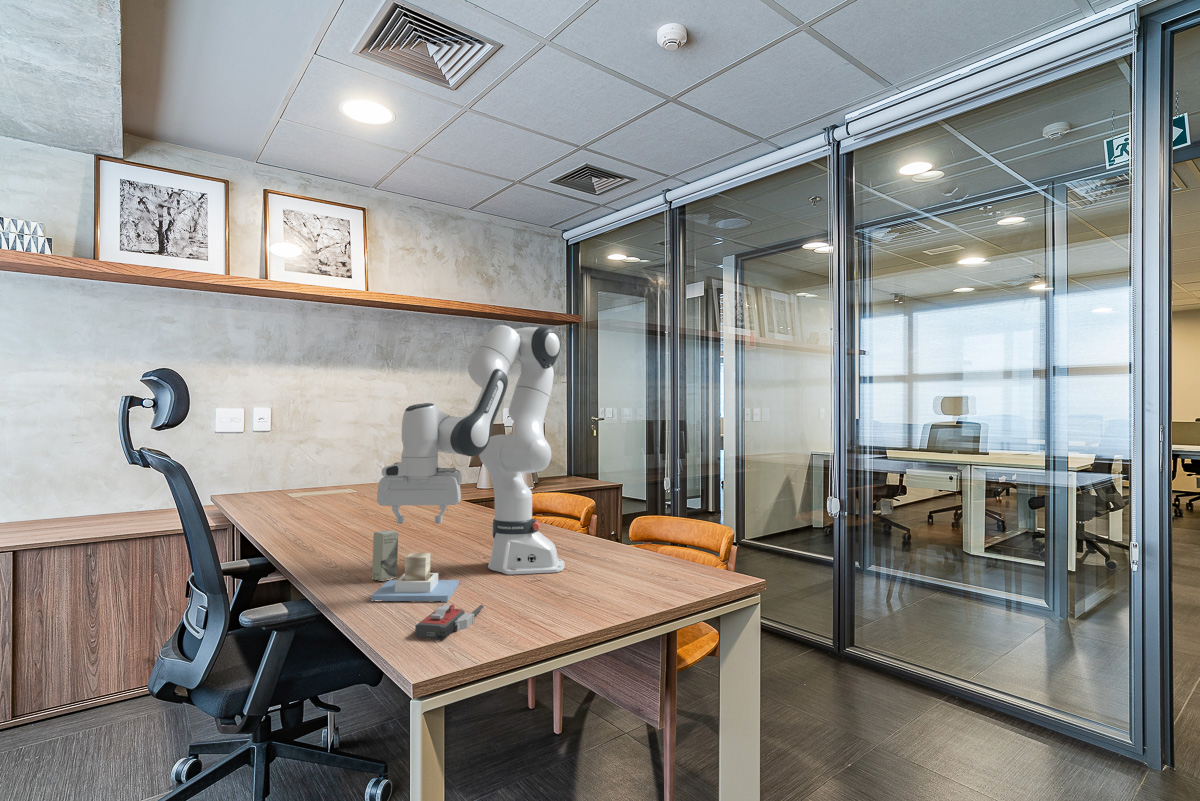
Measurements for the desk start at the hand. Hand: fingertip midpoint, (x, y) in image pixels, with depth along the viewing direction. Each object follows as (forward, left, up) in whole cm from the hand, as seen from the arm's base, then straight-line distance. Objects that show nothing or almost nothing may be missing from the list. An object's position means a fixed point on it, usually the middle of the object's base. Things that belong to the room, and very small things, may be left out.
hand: (419, 523), depth 151 cm
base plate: (0, 0, -18) cm, 18 cm away
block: (0, 0, -16) cm, 16 cm away
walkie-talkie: (-13, +22, -18) cm, 32 cm away
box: (+12, -13, -18) cm, 25 cm away
